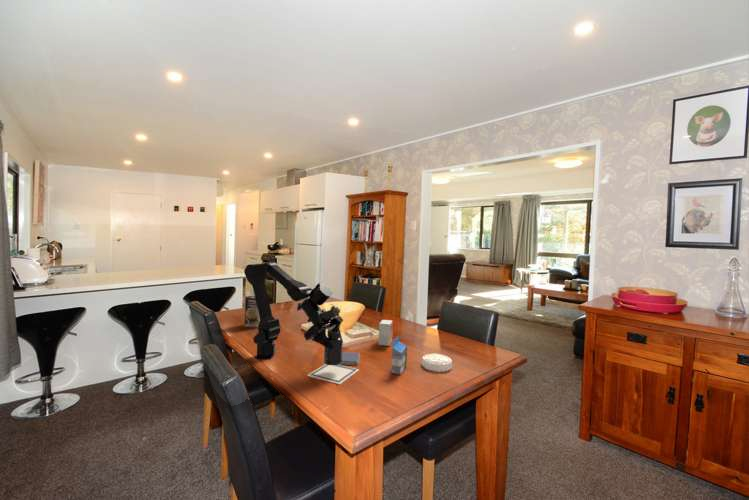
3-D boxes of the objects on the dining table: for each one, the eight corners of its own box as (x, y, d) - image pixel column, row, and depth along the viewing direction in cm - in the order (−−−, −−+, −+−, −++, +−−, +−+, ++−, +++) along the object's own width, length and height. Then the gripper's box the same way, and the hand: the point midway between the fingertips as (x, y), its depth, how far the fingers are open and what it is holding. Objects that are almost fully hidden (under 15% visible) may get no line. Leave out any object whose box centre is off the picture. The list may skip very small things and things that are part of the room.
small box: (389, 346, 155) (390, 324, 154) (378, 345, 156) (379, 323, 156) (392, 341, 163) (393, 320, 162) (381, 340, 164) (382, 319, 163)
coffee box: (244, 326, 179) (244, 297, 179) (250, 323, 186) (250, 295, 185) (259, 328, 178) (260, 298, 177) (265, 324, 184) (265, 296, 183)
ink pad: (330, 364, 131) (330, 360, 131) (334, 354, 142) (335, 351, 142) (358, 365, 131) (358, 362, 131) (360, 355, 142) (360, 352, 142)
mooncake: (429, 373, 126) (429, 364, 126) (417, 361, 137) (417, 353, 137) (457, 371, 129) (457, 362, 129) (443, 359, 141) (443, 351, 140)
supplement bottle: (333, 358, 127) (335, 327, 127) (345, 362, 123) (347, 331, 123) (319, 362, 122) (321, 330, 122) (331, 367, 118) (333, 334, 118)
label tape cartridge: (400, 375, 123) (401, 342, 122) (390, 373, 124) (391, 341, 124) (406, 366, 131) (407, 336, 131) (397, 365, 132) (398, 335, 132)
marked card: (307, 375, 119) (307, 374, 119) (328, 363, 132) (328, 361, 132) (339, 384, 113) (339, 383, 113) (359, 370, 126) (359, 369, 126)
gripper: (312, 303, 115) (337, 340, 111) (340, 296, 132) (363, 327, 127) (293, 322, 119) (317, 358, 114) (323, 312, 135) (345, 343, 131)
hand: (337, 346), depth 122 cm, fingers closed on supplement bottle, 7 cm apart
